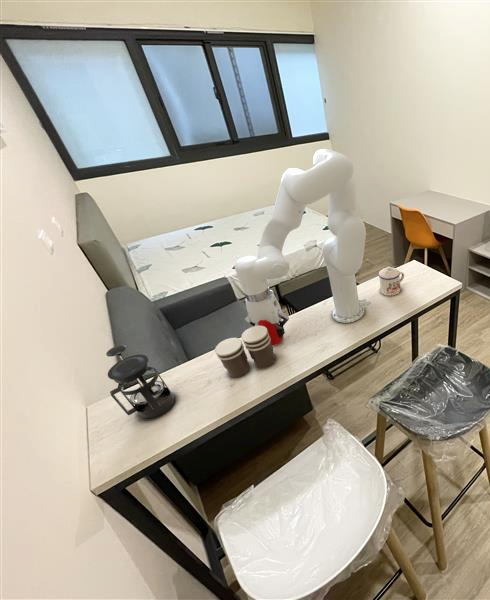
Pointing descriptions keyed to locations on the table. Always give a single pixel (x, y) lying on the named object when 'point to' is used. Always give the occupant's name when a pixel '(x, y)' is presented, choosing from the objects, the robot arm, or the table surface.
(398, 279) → the teacup with lid
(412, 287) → the table surface
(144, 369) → the french press
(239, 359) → the cup stacks
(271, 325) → the beverage can
